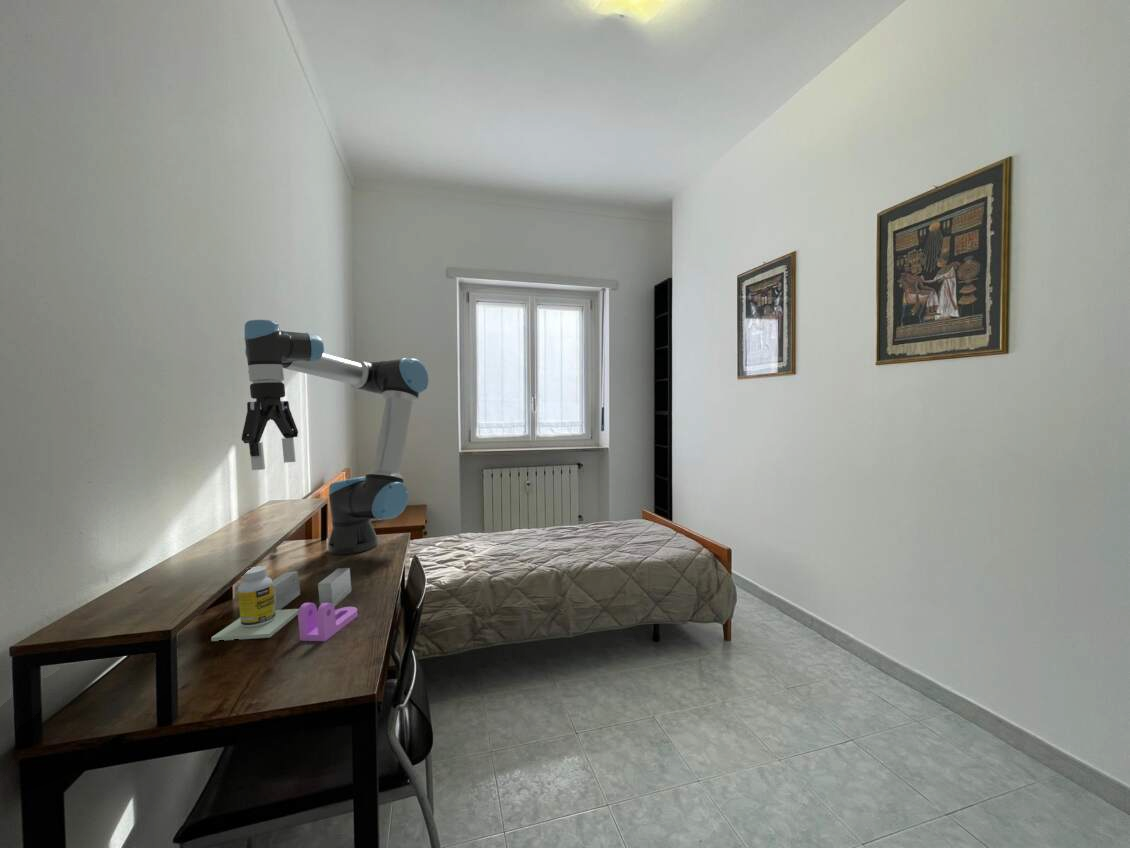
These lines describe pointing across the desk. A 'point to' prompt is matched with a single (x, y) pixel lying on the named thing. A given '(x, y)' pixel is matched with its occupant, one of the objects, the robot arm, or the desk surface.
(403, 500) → the robot arm
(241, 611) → the pill bottle
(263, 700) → the desk surface
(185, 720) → the desk surface
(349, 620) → the bracket
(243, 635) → the mat
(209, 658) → the desk surface
